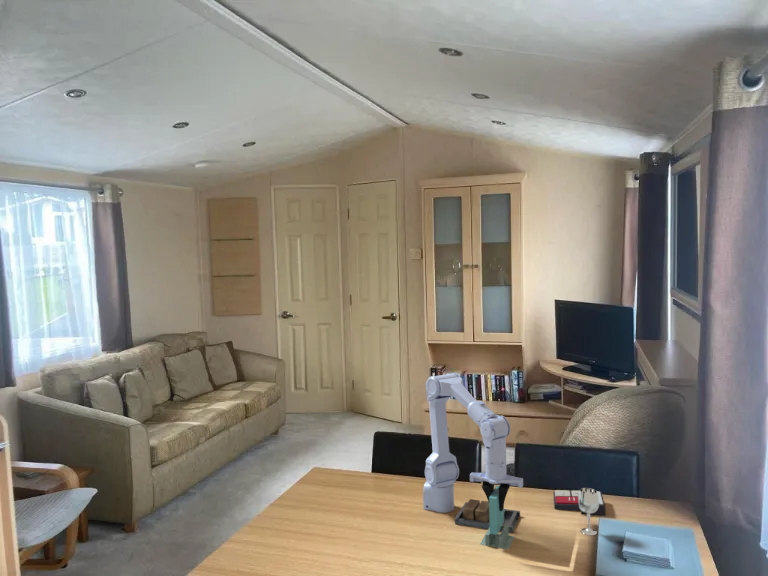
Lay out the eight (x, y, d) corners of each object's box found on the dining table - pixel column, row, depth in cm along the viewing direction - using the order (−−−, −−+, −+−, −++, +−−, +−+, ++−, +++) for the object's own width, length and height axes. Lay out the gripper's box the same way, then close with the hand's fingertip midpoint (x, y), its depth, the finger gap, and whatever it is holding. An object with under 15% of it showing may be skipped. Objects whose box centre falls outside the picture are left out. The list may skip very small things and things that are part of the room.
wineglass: (599, 528, 175) (598, 488, 174) (599, 537, 169) (599, 495, 169) (578, 526, 177) (577, 486, 176) (578, 535, 171) (577, 493, 171)
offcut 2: (475, 524, 178) (475, 510, 178) (482, 513, 185) (481, 500, 185) (485, 525, 177) (485, 512, 177) (491, 514, 184) (491, 501, 184)
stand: (479, 547, 165) (479, 533, 165) (486, 535, 173) (486, 521, 173) (508, 552, 162) (508, 538, 162) (514, 539, 170) (514, 525, 169)
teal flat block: (489, 533, 164) (489, 497, 163) (497, 519, 172) (496, 485, 171) (497, 534, 163) (496, 498, 162) (504, 520, 171) (503, 486, 170)
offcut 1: (463, 522, 180) (463, 509, 179) (470, 511, 187) (470, 499, 187) (473, 523, 178) (472, 510, 178) (479, 512, 186) (479, 500, 186)
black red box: (553, 488, 197) (601, 489, 194) (554, 501, 198) (602, 502, 194) (554, 502, 187) (605, 503, 183) (555, 515, 187) (605, 516, 183)
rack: (455, 527, 179) (454, 517, 178) (466, 511, 190) (465, 502, 189) (512, 536, 172) (512, 525, 172) (520, 519, 183) (520, 509, 183)
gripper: (466, 462, 166) (467, 511, 166) (519, 468, 160) (520, 518, 161) (473, 454, 172) (474, 501, 173) (524, 460, 166) (525, 508, 167)
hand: (496, 509), depth 167 cm, fingers closed on teal flat block, 2 cm apart
